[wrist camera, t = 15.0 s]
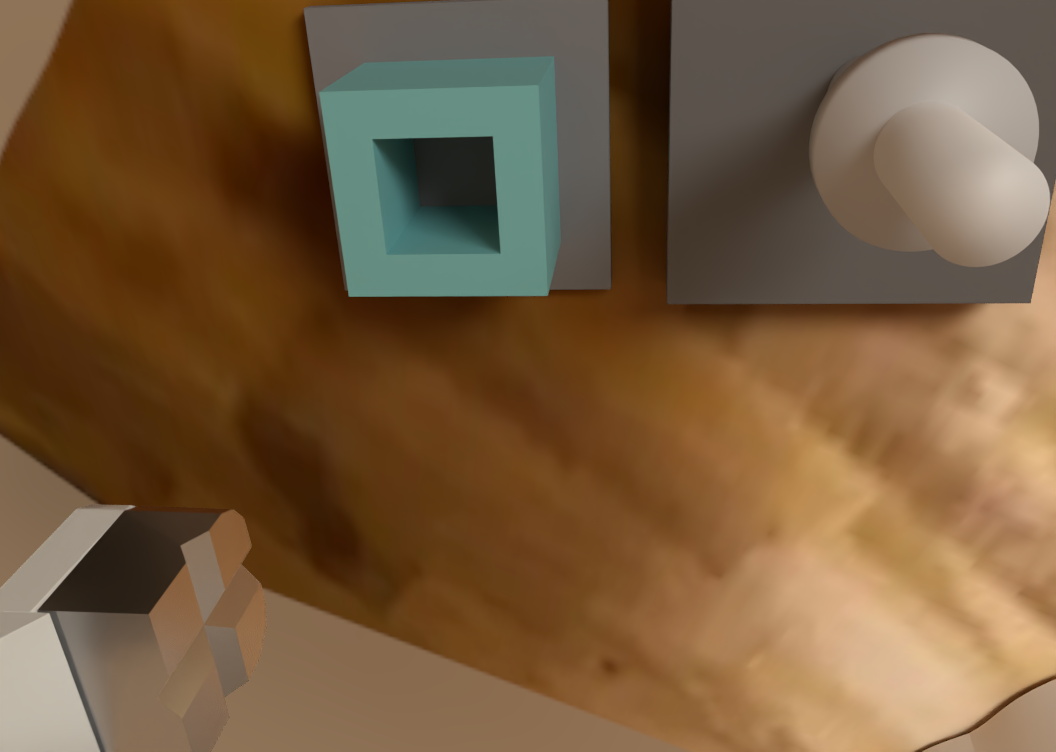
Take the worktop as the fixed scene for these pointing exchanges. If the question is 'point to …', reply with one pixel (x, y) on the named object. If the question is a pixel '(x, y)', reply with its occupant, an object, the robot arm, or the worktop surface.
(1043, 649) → the worktop surface
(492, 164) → the mat
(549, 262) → the collar
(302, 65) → the worktop surface
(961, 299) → the stand
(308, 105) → the worktop surface
